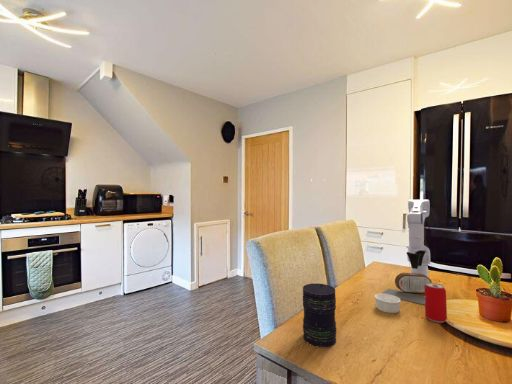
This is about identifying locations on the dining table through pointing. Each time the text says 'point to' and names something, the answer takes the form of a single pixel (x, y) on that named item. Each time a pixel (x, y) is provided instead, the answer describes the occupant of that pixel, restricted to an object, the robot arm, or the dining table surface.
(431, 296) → the beverage can
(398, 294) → the mat
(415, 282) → the tin
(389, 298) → the ramekin
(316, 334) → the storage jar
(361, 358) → the dining table surface
